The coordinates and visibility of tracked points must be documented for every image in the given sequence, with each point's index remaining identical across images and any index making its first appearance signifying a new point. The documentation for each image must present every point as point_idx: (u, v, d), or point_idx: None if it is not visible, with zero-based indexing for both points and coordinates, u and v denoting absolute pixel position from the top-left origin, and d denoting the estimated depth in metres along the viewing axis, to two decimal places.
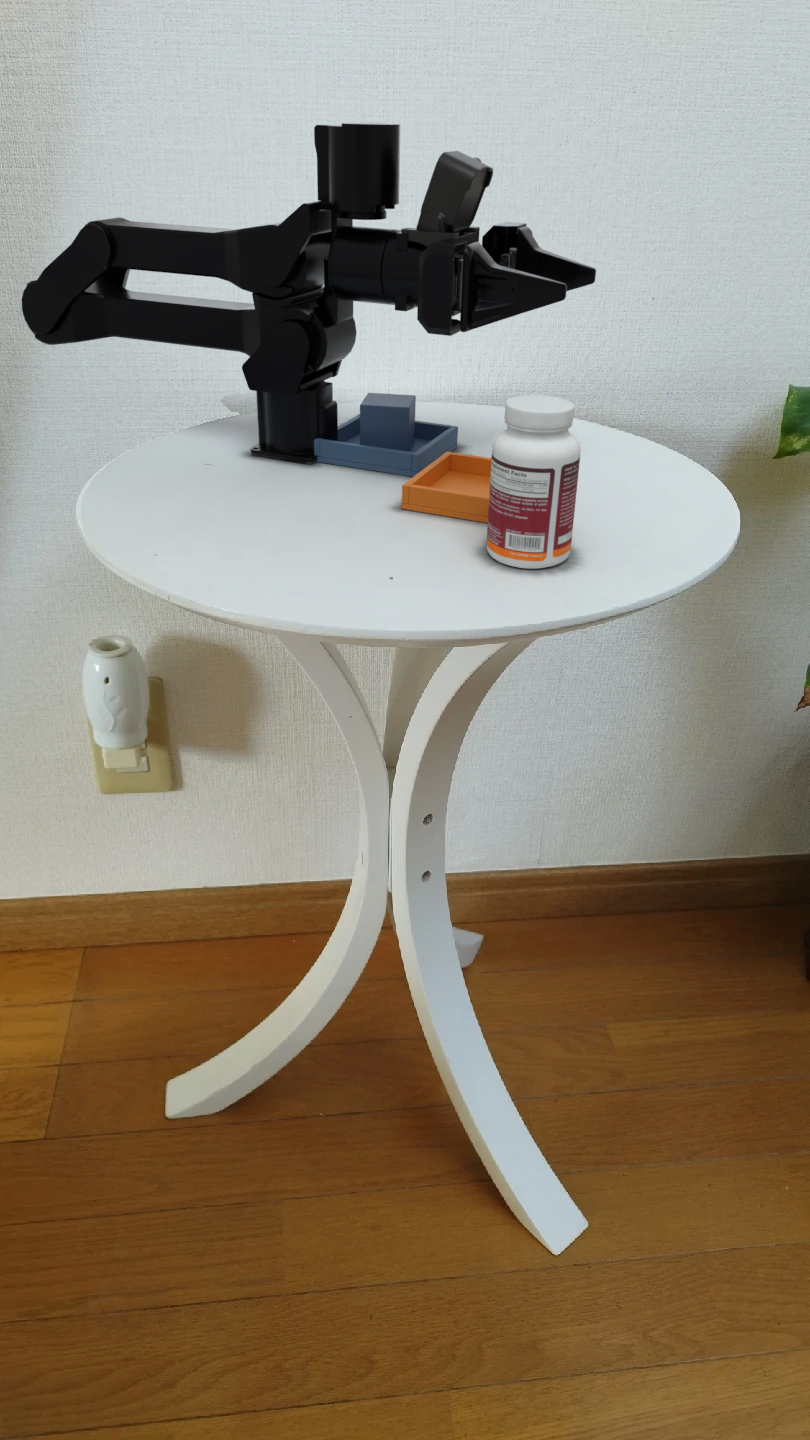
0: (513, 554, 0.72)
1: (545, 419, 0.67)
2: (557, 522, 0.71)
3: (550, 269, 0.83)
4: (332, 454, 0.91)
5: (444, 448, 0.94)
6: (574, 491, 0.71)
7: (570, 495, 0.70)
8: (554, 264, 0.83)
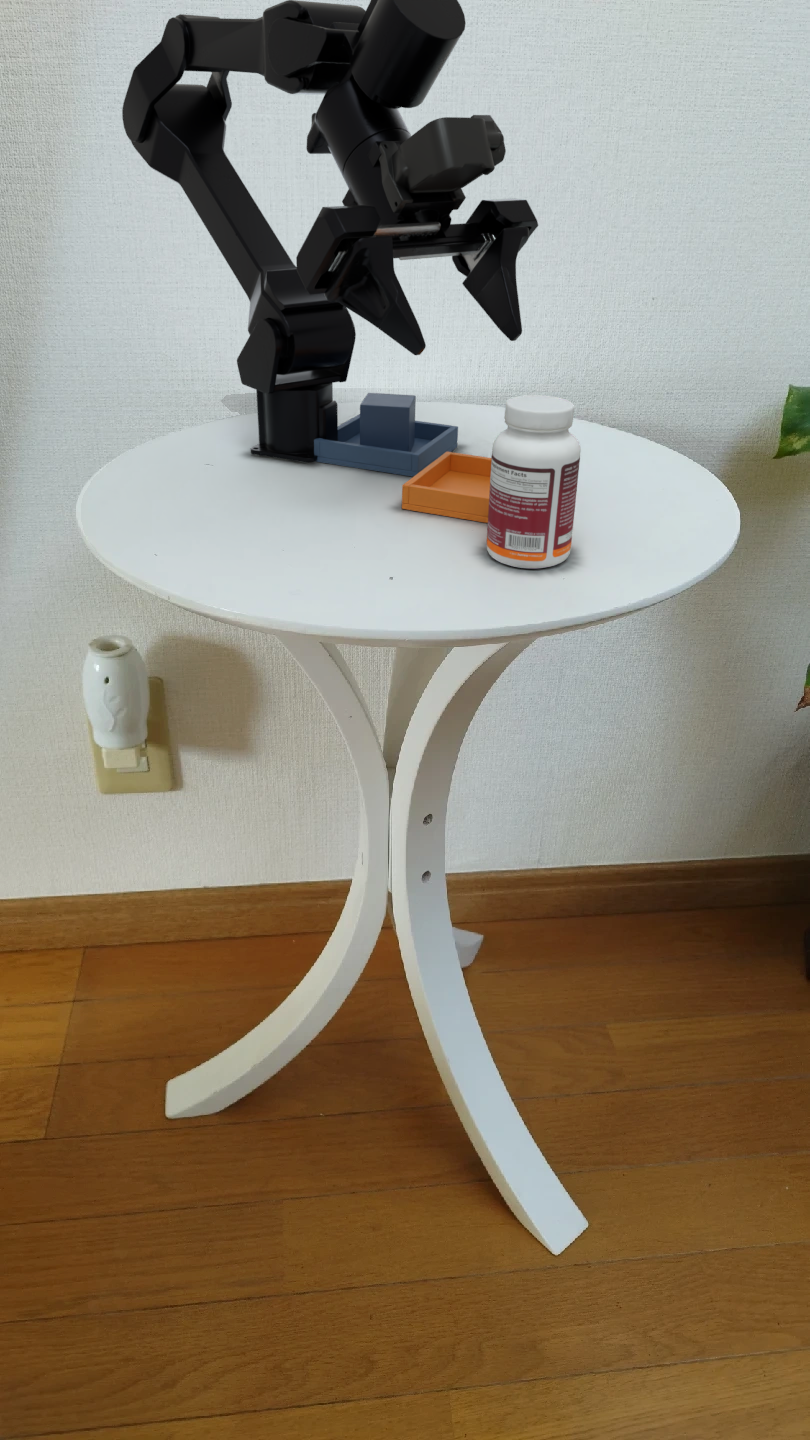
0: (513, 554, 0.72)
1: (545, 419, 0.67)
2: (557, 522, 0.71)
3: (497, 291, 0.75)
4: (332, 454, 0.91)
5: (444, 448, 0.94)
6: (574, 491, 0.71)
7: (570, 495, 0.70)
8: (502, 290, 0.75)
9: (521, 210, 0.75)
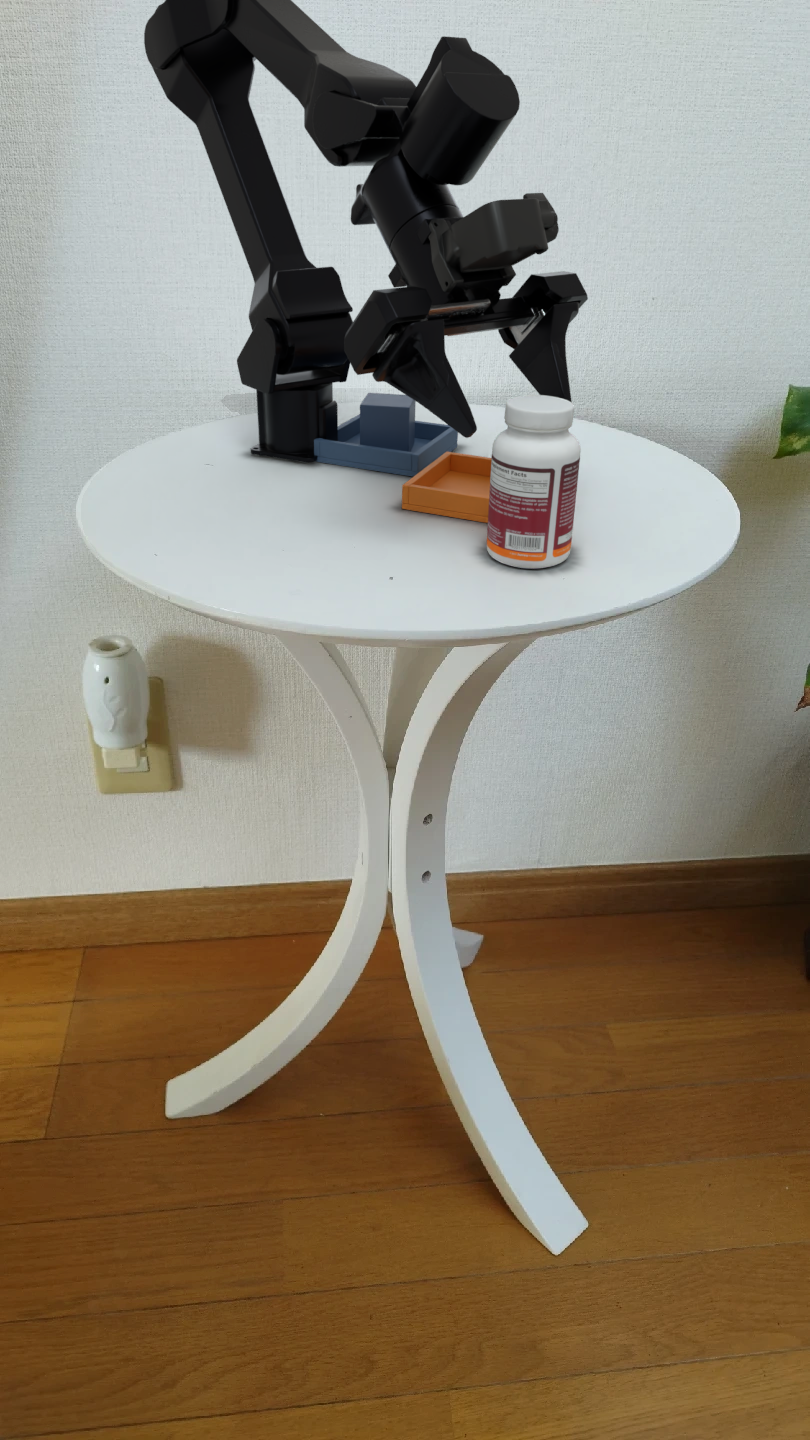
0: (513, 554, 0.72)
1: (545, 419, 0.67)
2: (557, 522, 0.71)
3: (546, 367, 0.74)
4: (332, 454, 0.91)
5: (444, 448, 0.94)
6: (574, 491, 0.71)
7: (570, 495, 0.70)
8: (552, 367, 0.74)
9: (571, 284, 0.74)
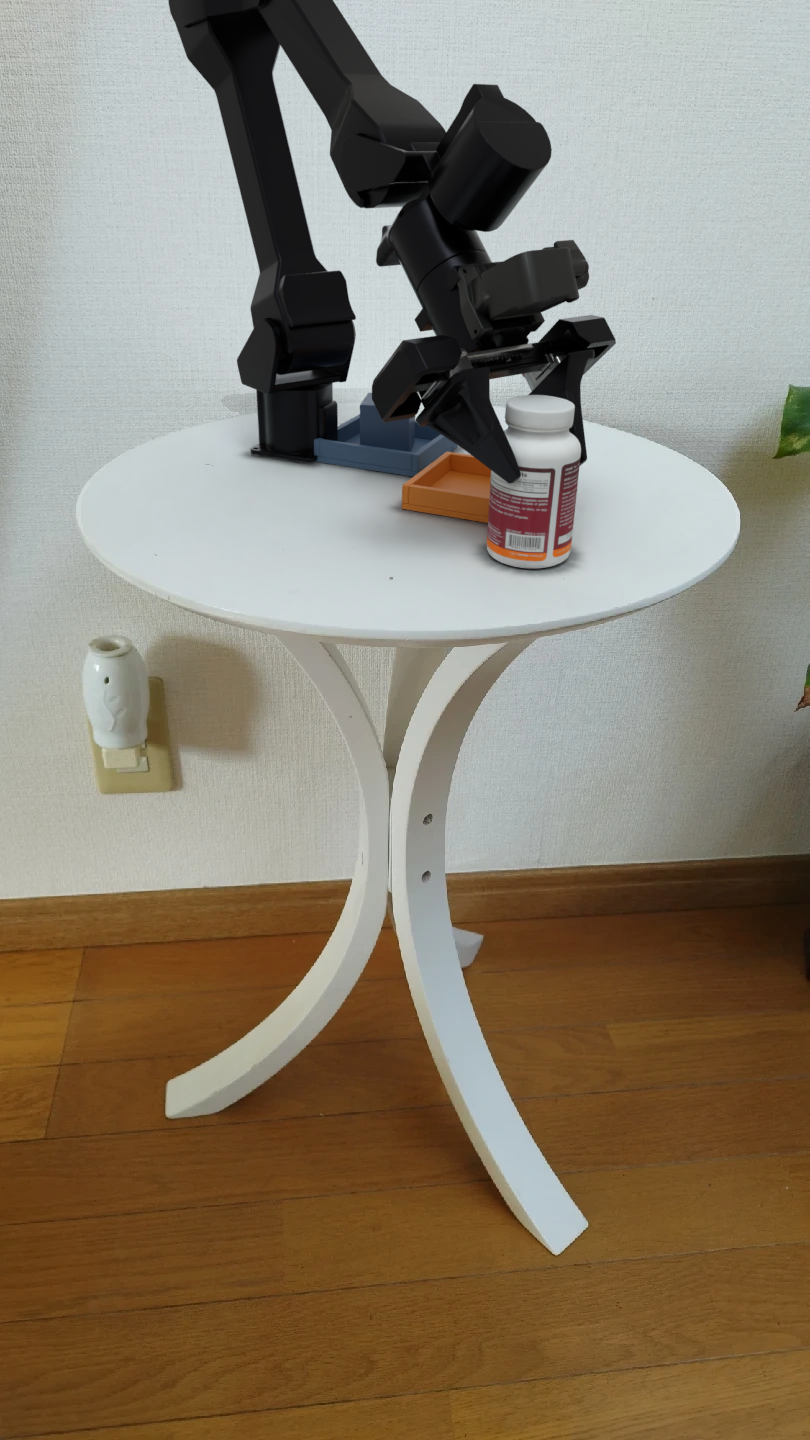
0: (513, 554, 0.72)
1: (545, 419, 0.67)
2: (557, 522, 0.71)
3: None
4: (332, 454, 0.91)
5: (444, 448, 0.94)
6: (574, 491, 0.71)
7: (570, 495, 0.70)
8: None
9: (599, 329, 0.73)
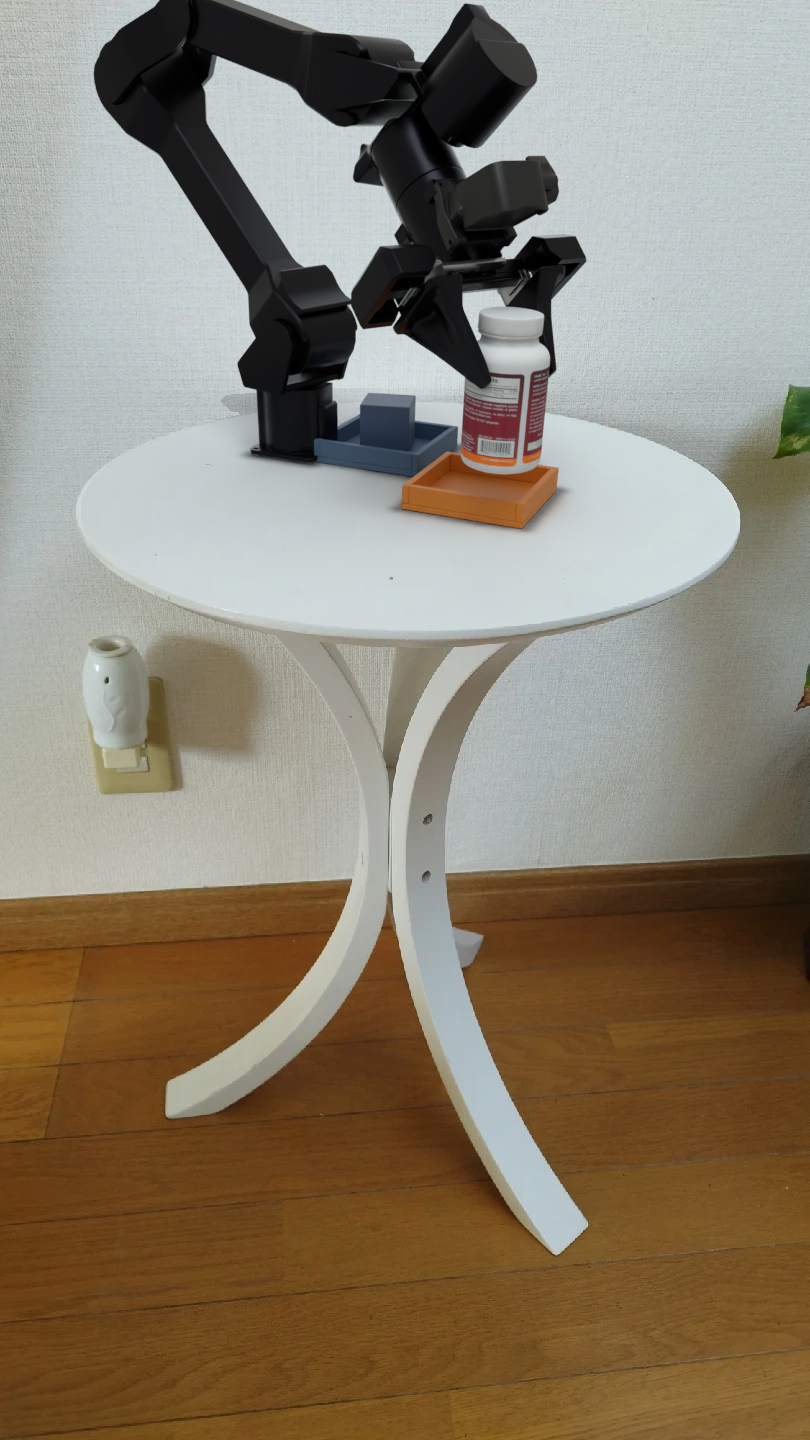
0: (485, 459, 0.75)
1: (515, 326, 0.71)
2: (527, 429, 0.74)
3: None
4: (332, 454, 0.91)
5: (444, 448, 0.94)
6: (543, 399, 0.74)
7: (539, 403, 0.74)
8: None
9: (570, 247, 0.76)
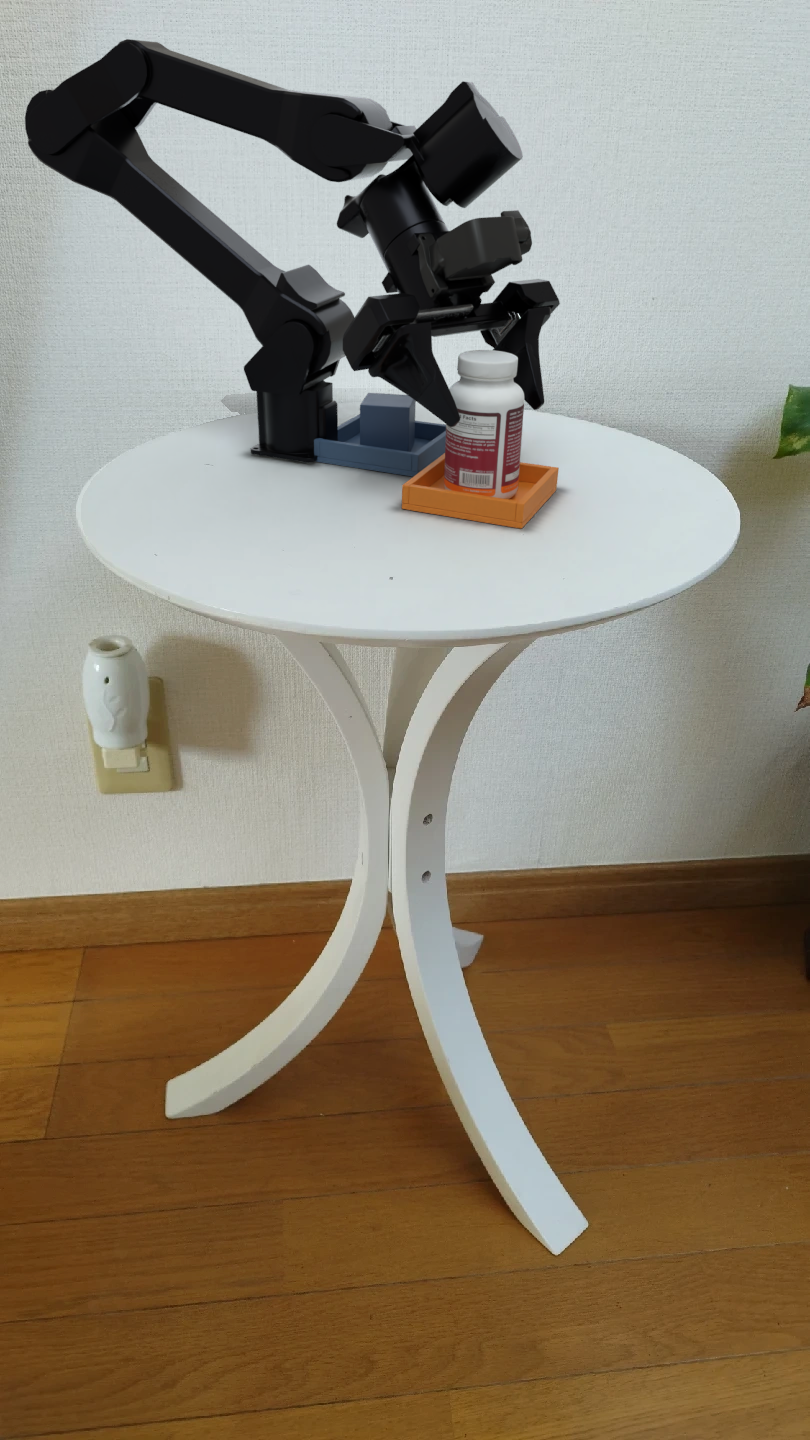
0: (466, 490, 0.82)
1: (491, 369, 0.77)
2: (504, 462, 0.81)
3: (521, 364, 0.83)
4: (332, 454, 0.91)
5: (444, 448, 0.94)
6: (519, 434, 0.81)
7: (515, 438, 0.80)
8: (526, 364, 0.83)
9: (544, 291, 0.83)
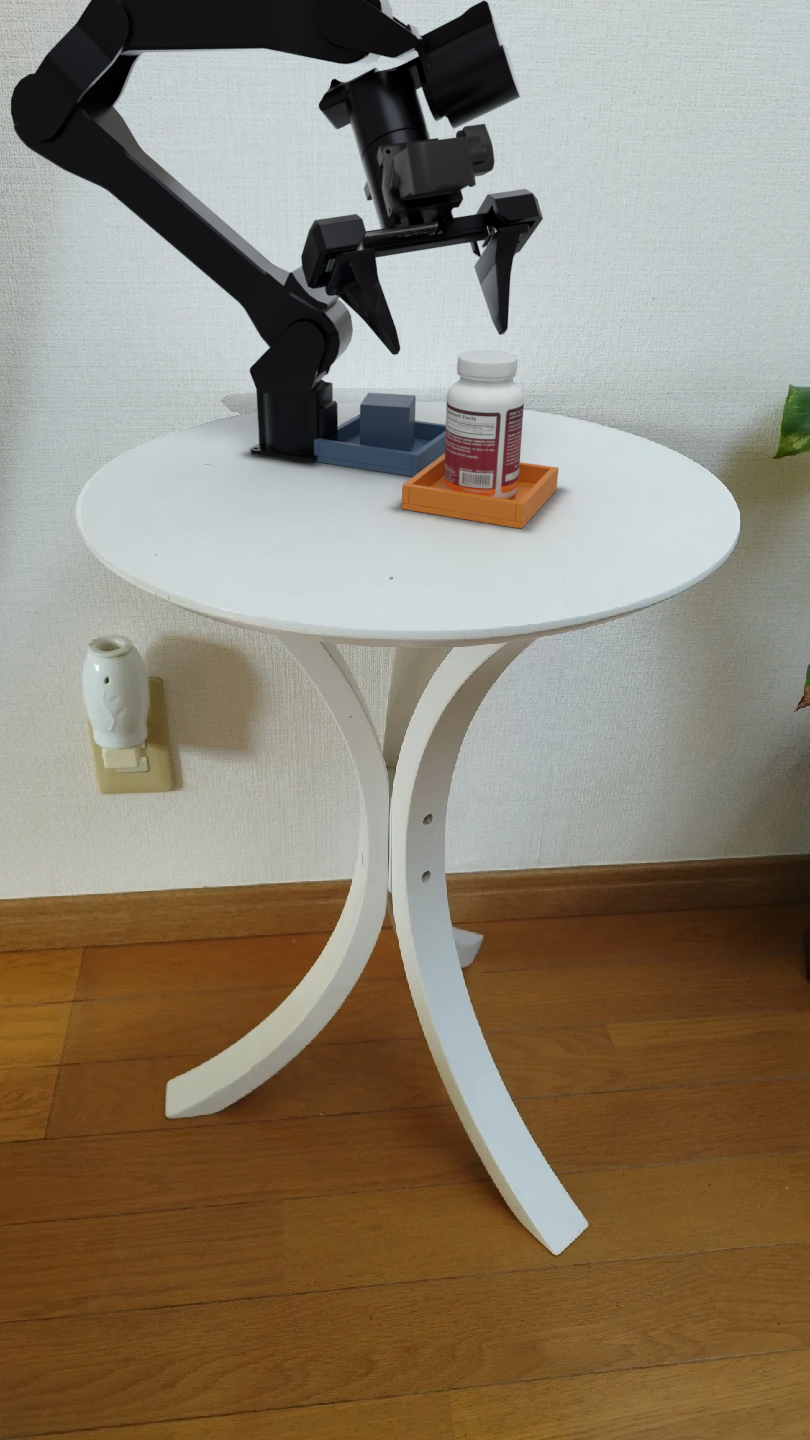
0: (466, 490, 0.82)
1: (491, 368, 0.77)
2: (504, 461, 0.81)
3: (492, 285, 0.81)
4: (332, 454, 0.91)
5: (444, 448, 0.94)
6: (519, 434, 0.81)
7: (515, 438, 0.80)
8: (496, 285, 0.81)
9: (523, 206, 0.79)
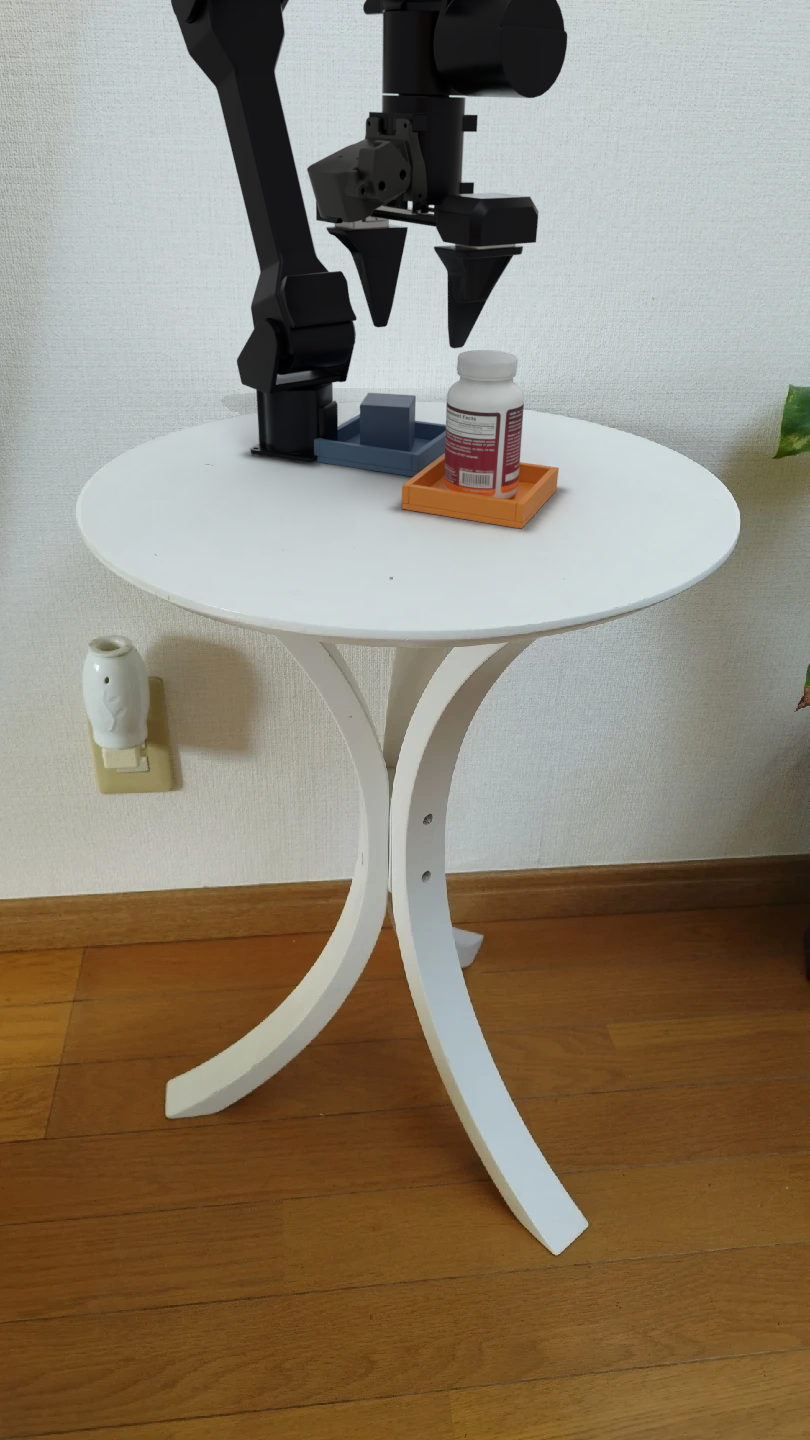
0: (466, 490, 0.82)
1: (491, 369, 0.77)
2: (504, 461, 0.81)
3: None
4: (332, 454, 0.91)
5: (444, 448, 0.94)
6: (519, 434, 0.81)
7: (515, 438, 0.80)
8: None
9: (458, 228, 0.66)
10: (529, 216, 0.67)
